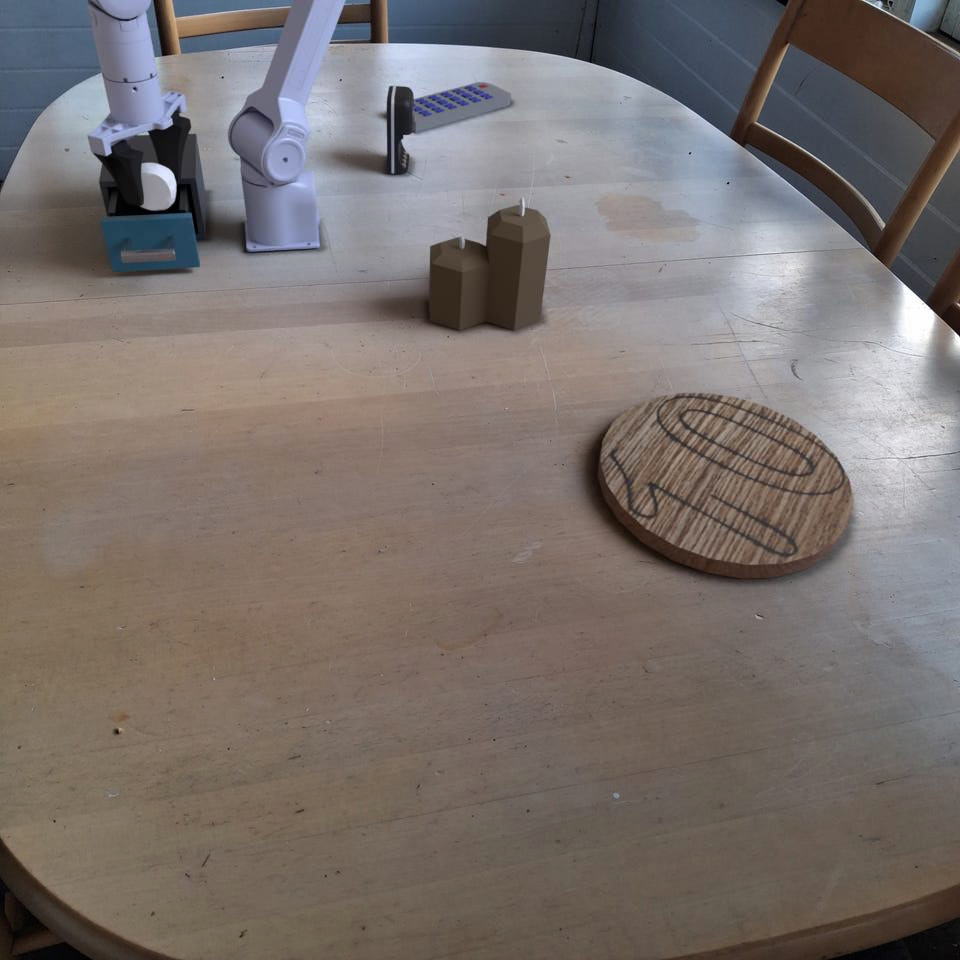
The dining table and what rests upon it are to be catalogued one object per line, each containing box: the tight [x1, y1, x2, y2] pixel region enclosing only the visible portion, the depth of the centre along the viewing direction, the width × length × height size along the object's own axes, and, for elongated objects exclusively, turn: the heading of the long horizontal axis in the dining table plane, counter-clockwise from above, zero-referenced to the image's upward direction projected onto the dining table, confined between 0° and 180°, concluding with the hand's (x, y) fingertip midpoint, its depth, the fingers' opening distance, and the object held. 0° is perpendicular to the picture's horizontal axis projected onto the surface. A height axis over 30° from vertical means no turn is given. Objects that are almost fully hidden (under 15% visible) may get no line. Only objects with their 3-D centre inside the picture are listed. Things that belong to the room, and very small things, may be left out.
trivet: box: [597, 392, 855, 580], centre depth 91 cm, size 25×25×2 cm
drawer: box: [99, 184, 201, 273], centre depth 113 cm, size 17×10×7 cm, turn 12°
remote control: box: [412, 81, 512, 133], centre depth 156 cm, size 8×23×2 cm, turn 131°
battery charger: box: [386, 84, 415, 175], centre depth 136 cm, size 7×4×11 cm, turn 0°
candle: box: [428, 197, 552, 331], centre depth 107 cm, size 14×14×15 cm
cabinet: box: [98, 133, 207, 241], centre depth 121 cm, size 14×12×9 cm
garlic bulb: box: [140, 163, 176, 211], centre depth 107 cm, size 6×6×5 cm
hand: (153, 191), depth 107 cm, fingers closed on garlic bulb, 6 cm apart
